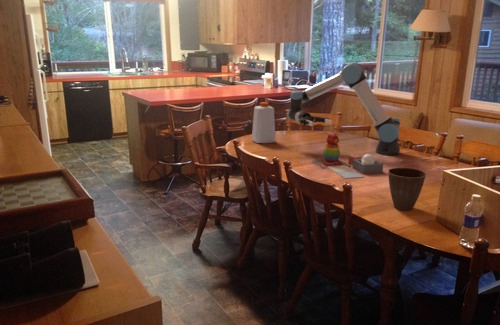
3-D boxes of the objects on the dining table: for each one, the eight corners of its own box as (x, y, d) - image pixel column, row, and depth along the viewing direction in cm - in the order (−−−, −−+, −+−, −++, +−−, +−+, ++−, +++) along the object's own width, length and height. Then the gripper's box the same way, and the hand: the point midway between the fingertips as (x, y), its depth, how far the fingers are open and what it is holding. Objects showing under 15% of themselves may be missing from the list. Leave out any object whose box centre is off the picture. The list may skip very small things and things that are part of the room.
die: (354, 162, 254) (355, 153, 252) (360, 164, 249) (361, 155, 248) (348, 164, 251) (348, 154, 250) (354, 166, 247) (354, 156, 246)
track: (338, 159, 261) (338, 158, 261) (369, 176, 226) (369, 176, 226) (311, 160, 257) (311, 160, 257) (339, 179, 222) (339, 178, 222)
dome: (369, 165, 242) (371, 152, 240) (376, 169, 236) (377, 155, 234) (358, 166, 241) (359, 152, 238) (364, 170, 234) (366, 156, 232)
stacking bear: (329, 167, 244) (331, 136, 239) (318, 162, 253) (320, 133, 248) (344, 164, 249) (346, 135, 244) (333, 160, 258) (334, 131, 253)
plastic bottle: (269, 138, 317) (270, 101, 310) (277, 142, 303) (278, 103, 296) (250, 139, 313) (250, 101, 305) (257, 144, 299) (257, 104, 291)
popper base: (371, 166, 246) (372, 158, 244) (382, 172, 234) (383, 163, 233) (352, 168, 243) (353, 159, 241) (362, 174, 231) (363, 165, 230)
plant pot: (383, 211, 180) (387, 175, 175) (386, 199, 193) (389, 165, 189) (421, 216, 175) (426, 179, 170) (421, 204, 188) (425, 169, 184)
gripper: (319, 122, 278) (338, 128, 260) (286, 124, 268) (303, 130, 250) (320, 110, 276) (339, 116, 258) (286, 112, 266) (304, 118, 248)
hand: (322, 123), depth 254 cm, fingers open, 13 cm apart
